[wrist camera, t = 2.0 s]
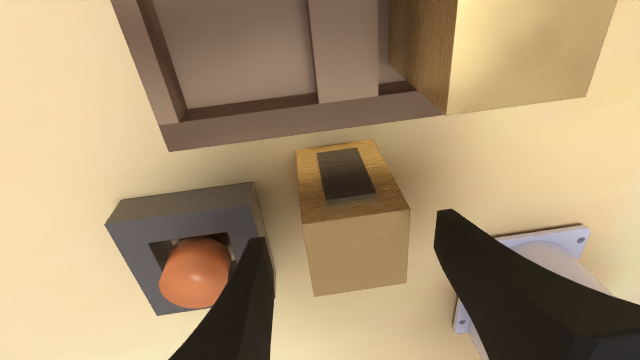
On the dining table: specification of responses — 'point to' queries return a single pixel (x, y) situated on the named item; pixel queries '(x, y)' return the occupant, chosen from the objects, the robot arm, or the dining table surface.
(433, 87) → the block
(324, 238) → the block
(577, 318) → the robot arm
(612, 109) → the dining table surface
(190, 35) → the brown compartment tray
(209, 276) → the button
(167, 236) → the button housing
